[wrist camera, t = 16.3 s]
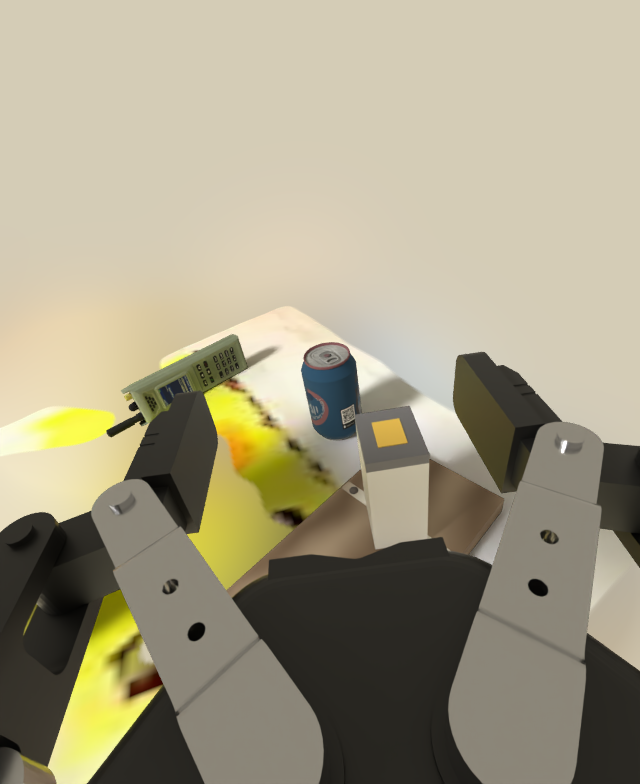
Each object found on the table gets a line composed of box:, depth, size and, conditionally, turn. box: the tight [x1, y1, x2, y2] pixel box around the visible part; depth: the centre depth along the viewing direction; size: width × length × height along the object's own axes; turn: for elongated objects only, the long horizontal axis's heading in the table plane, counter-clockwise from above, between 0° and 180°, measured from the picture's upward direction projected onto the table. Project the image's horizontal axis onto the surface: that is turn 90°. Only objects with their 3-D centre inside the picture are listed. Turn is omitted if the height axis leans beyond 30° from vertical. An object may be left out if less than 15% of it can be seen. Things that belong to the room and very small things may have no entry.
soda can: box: [301, 342, 362, 440], centre depth 52 cm, size 7×7×12 cm
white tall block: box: [354, 406, 429, 549], centre depth 37 cm, size 5×6×12 cm
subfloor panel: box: [226, 459, 504, 598], centre depth 38 cm, size 14×30×2 cm, turn 134°
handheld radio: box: [106, 334, 248, 437], centre depth 65 cm, size 7×3×25 cm
